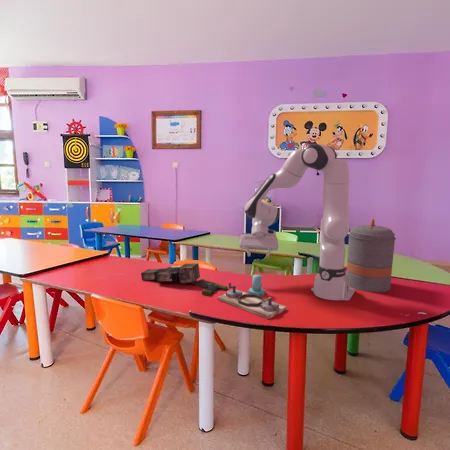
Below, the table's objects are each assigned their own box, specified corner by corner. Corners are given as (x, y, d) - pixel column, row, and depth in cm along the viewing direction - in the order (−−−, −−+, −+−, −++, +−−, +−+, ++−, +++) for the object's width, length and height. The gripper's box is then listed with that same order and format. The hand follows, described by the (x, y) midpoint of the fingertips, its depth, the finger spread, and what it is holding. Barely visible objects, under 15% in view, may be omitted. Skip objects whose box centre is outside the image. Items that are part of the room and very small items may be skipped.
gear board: (236, 292, 156) (237, 276, 155) (286, 309, 137) (287, 291, 136) (217, 299, 147) (218, 282, 146) (268, 319, 128) (268, 299, 126)
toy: (139, 288, 170) (191, 286, 161) (136, 271, 169) (189, 269, 160) (154, 278, 185) (202, 277, 176) (151, 263, 184) (200, 261, 175)
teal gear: (255, 288, 162) (255, 272, 160) (268, 293, 156) (269, 276, 155) (244, 292, 156) (245, 275, 155) (258, 297, 150) (258, 279, 149)
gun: (181, 288, 162) (202, 282, 173) (209, 297, 150) (229, 290, 161) (181, 283, 162) (202, 277, 173) (209, 292, 150) (229, 285, 161)
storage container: (349, 275, 186) (353, 215, 181) (392, 282, 175) (398, 218, 169) (340, 286, 167) (345, 219, 162) (389, 295, 156) (396, 223, 150)
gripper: (239, 229, 172) (237, 251, 164) (278, 231, 170) (278, 254, 162) (240, 236, 177) (238, 258, 169) (278, 238, 175) (277, 260, 167)
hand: (258, 256), depth 166 cm, fingers open, 8 cm apart
